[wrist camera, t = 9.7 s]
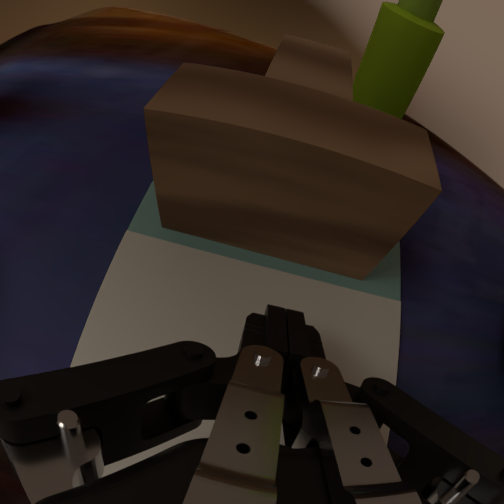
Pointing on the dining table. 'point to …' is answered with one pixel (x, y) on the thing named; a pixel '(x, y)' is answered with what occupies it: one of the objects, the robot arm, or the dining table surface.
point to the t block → (288, 161)
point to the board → (234, 305)
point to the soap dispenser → (397, 55)
